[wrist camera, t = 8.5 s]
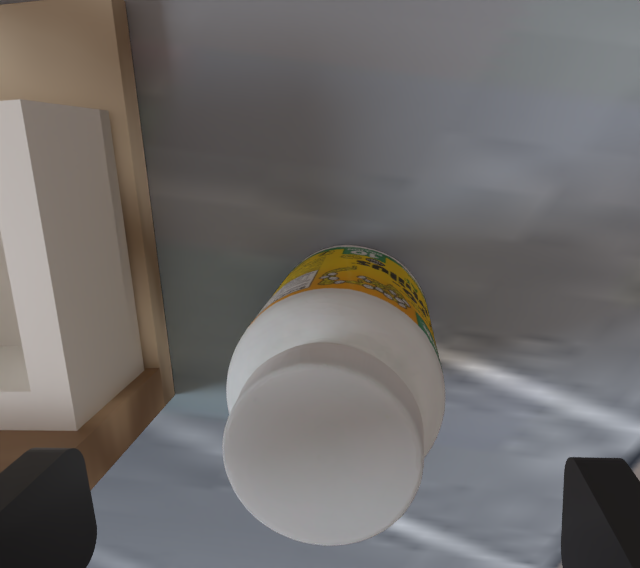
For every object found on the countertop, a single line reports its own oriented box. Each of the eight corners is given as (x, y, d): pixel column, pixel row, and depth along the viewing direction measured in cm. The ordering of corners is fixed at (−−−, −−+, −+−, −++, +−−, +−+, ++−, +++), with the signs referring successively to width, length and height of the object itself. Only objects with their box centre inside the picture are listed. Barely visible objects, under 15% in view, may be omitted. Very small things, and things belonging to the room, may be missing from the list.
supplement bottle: (248, 303, 21) (131, 430, 11) (363, 210, 19) (335, 267, 10) (342, 412, 21) (303, 619, 12) (460, 329, 20) (518, 487, 11)
